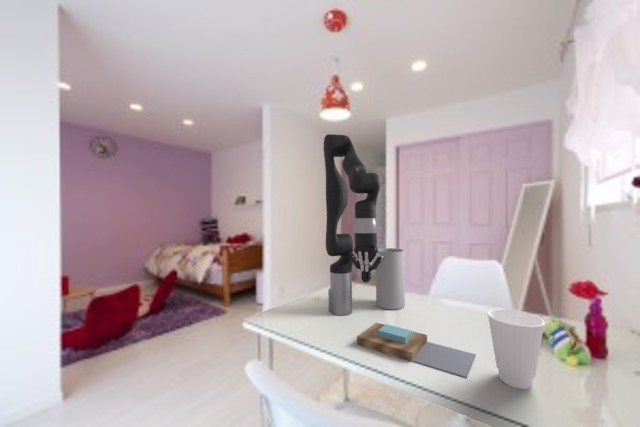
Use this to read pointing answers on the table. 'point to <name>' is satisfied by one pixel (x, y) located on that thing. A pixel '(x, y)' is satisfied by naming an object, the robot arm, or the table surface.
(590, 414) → the table surface
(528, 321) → the cup
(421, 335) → the block
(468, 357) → the mat
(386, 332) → the tile
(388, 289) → the cylinder vase
